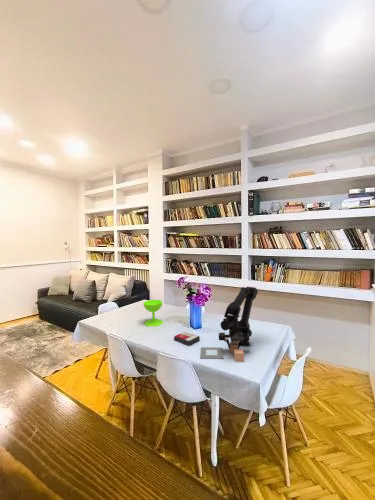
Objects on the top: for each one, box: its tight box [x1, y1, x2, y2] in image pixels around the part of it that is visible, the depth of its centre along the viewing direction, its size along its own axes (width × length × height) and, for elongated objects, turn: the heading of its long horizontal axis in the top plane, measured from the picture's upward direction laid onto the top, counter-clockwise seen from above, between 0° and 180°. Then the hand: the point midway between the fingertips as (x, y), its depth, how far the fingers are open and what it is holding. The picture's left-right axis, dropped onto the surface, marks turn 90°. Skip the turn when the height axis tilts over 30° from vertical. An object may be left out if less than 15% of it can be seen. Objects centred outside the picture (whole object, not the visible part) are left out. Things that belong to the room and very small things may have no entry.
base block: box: [229, 341, 238, 354], centre depth 157 cm, size 5×5×5 cm
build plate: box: [199, 346, 224, 360], centre depth 155 cm, size 14×14×1 cm
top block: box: [233, 348, 245, 362], centre depth 147 cm, size 5×5×5 cm
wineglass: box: [143, 299, 164, 327], centre depth 211 cm, size 16×16×18 cm
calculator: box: [173, 331, 201, 347], centre depth 175 cm, size 11×4×15 cm
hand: (233, 349), depth 157 cm, fingers closed on base block, 5 cm apart
